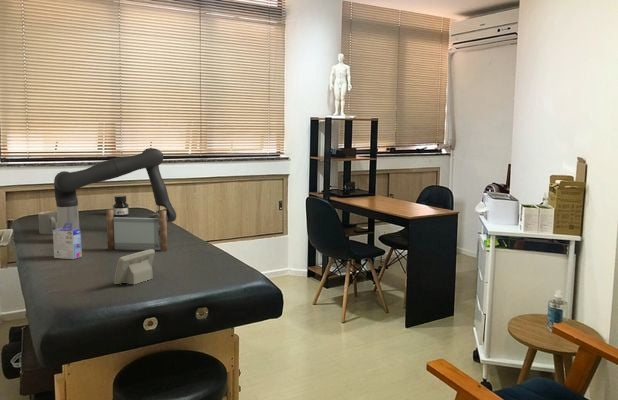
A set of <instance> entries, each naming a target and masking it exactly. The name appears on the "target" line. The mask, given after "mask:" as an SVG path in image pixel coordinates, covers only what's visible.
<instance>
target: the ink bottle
mask: <svg viewBox="0 0 618 400" xmlns="http://www.w3.org/2000/svg"><path fill="white" fill-rule="evenodd" d="M113 198H114V199H113V200H114V204H112V208H113V217H127V216H129V215H130V211H129V207H130V206H129V204H128V203H127V195H124V194H121V195H114V197H113Z"/></svg>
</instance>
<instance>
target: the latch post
mask: <svg viewBox="0 0 618 400" xmlns="http://www.w3.org/2000/svg"><path fill="white" fill-rule="evenodd" d="M160 210H161V211H159V210H158V211H159V221H160V229H159V236H160V247H159V248H160V252H167V251H168V233H167V232H168V230H167V227H168V225H167V223H168V222H167V221H166V211H165V210H164V209H160Z"/></svg>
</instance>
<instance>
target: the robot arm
mask: <svg viewBox="0 0 618 400" xmlns="http://www.w3.org/2000/svg"><path fill="white" fill-rule="evenodd" d="M163 160H164V154H163V152H162V151H161V150H160V149H158V148H155V147H154V148H153V147H149V148H146V149H144V150H143V151H142V152H141V153H138V154H134V155H131V156H122V157H121V156H119V157H115V158H110V159H107V160H103V161H101V162H98V163H96V164H94V165H92V166H90V167H88V168H84V169H82V170H76V171H71V172H70V171H65V170H64V171H59V172H58V173H56V175H55V176H54V179H53V188H54V189H53V190H54V198H55V203H56V206H55V207H56V211H57V221H58V222H56V229H58V228H63V227H64V224H65V223H73V224H72V228H74V229H80V215H79V200H78V197H77V190H78V189H81V188H83V187H86V186H88V185H91V184H95V183H96V184H97V183H100V182H104V181H108V180H112V179H113V180H114V179H116V178H119V177H122V176H126V175H128V174H131V173H134V172H136V171H138V170H143V169H145V170H146V173H147V175H148V178H149V182H150V185H151V189H152V190H151V191H152V195H153V198H154V202H155V205H156V206H157V207H164V208H165V209H163V210H165V211H166V221H167V223H172V222H175V221H176V220H177V213H176V210H175V208H174V207H173V205H172V203H171V201H170V198H169V193H168V189H167V186H166V183H165V182H164V180H163V177H162V175H161V172H160V167H159V166H160V165H161V164H162V163H163ZM161 210H162V209H160V210H156V211H155V213H154V214H151V215H150V216H147V218H159V211H161ZM66 226H68V227H70V225H66ZM159 230H160V221H159Z"/></svg>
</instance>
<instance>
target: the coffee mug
mask: <svg viewBox="0 0 618 400" xmlns="http://www.w3.org/2000/svg"><path fill="white" fill-rule="evenodd" d="M37 217H38V219H37V220H38V231H39V232H38V233H39V234H41V235H53V230H55V229H56V222H58V221H57V210H55V211H54V210H47V211H41V212H38V213H37Z"/></svg>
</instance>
